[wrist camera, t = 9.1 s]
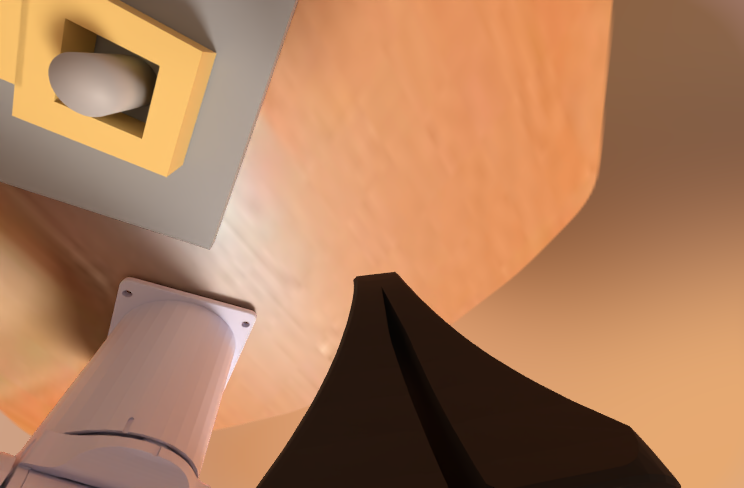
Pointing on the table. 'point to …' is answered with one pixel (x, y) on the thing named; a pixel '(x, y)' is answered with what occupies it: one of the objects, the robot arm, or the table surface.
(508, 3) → the table surface
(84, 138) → the link
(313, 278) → the table surface
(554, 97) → the table surface
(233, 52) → the pintle board
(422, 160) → the table surface
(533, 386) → the robot arm
